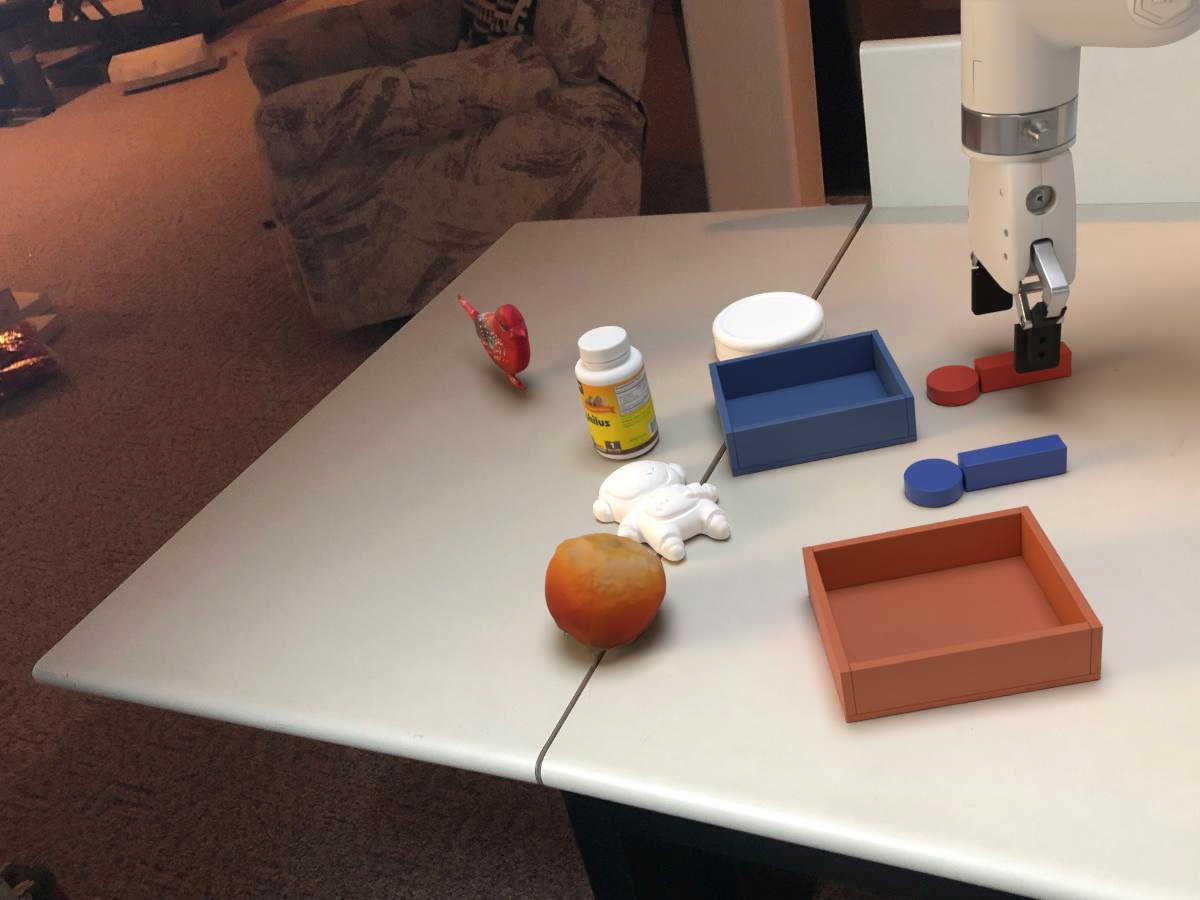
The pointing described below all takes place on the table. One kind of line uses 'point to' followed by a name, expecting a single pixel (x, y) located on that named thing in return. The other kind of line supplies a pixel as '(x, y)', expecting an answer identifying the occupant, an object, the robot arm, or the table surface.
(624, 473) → the astronaut figurine
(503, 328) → the decorative bird figurine
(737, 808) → the table surface
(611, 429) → the supplement bottle
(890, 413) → the blue tray
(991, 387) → the red spoon
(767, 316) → the white round container
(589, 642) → the fruit
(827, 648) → the terracotta tray
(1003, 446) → the blue spoon
